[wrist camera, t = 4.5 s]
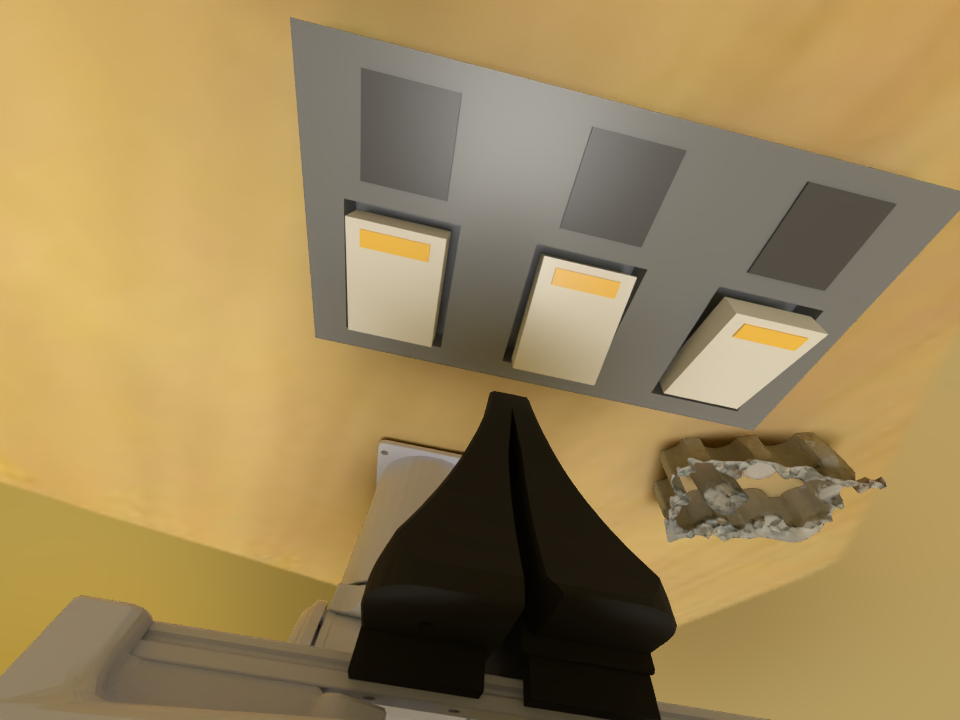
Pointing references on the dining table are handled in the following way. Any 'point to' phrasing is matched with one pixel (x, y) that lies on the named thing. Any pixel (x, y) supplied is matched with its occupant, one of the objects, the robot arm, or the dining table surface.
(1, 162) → the dining table surface
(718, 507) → the egg carton
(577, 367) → the rocker middle
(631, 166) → the grey rocker switch panel
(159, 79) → the dining table surface
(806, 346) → the rocker carton end
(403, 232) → the labelled cream tile
